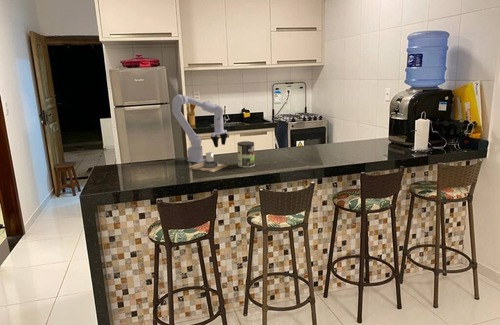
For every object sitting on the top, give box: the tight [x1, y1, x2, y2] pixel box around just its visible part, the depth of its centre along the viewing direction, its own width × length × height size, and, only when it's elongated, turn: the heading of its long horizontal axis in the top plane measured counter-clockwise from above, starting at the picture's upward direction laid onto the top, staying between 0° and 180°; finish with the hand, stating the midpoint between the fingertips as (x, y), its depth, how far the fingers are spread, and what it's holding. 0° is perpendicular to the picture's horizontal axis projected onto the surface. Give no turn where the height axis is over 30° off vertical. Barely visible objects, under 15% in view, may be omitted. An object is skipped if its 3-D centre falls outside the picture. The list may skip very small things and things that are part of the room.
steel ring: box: [202, 160, 219, 168], centre depth 221 cm, size 8×8×2 cm
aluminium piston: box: [205, 151, 215, 164], centre depth 220 cm, size 4×4×8 cm
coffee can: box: [236, 140, 256, 168], centre depth 223 cm, size 10×10×14 cm
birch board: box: [188, 161, 228, 173], centre depth 222 cm, size 18×14×1 cm
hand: (219, 145), depth 237 cm, fingers open, 7 cm apart
